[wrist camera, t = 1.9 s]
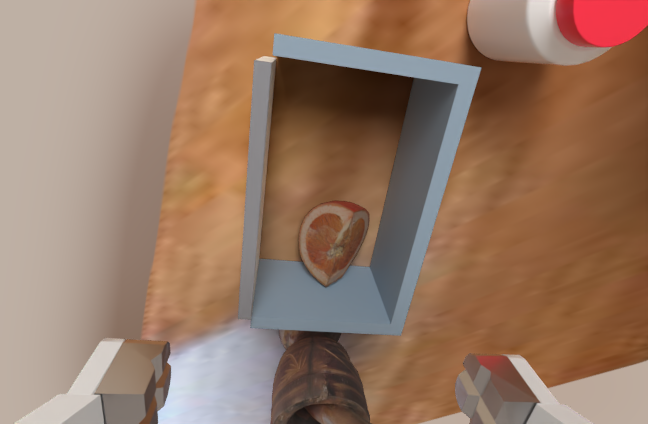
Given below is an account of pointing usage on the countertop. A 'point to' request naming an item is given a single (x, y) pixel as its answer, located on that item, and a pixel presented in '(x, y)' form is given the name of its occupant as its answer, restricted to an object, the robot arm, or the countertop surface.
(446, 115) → the crate
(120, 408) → the robot arm
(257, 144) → the white rectangular panel
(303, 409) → the mortar and pestle
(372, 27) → the countertop surface
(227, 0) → the countertop surface
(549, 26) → the pill bottle
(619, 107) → the countertop surface
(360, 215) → the fruit slice
